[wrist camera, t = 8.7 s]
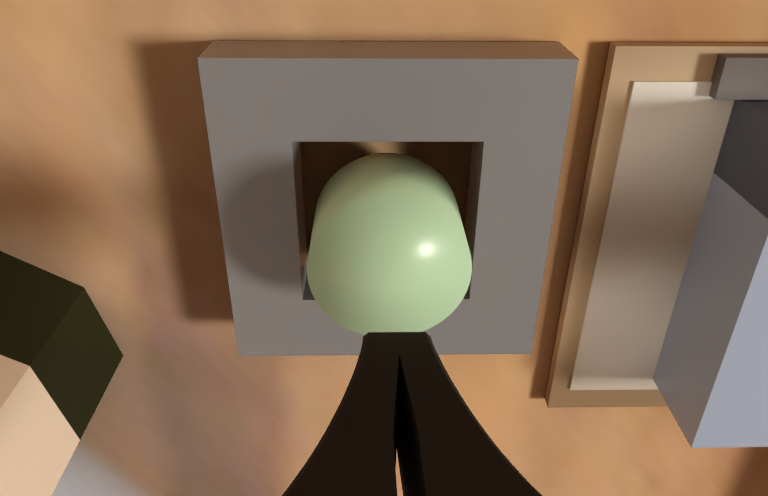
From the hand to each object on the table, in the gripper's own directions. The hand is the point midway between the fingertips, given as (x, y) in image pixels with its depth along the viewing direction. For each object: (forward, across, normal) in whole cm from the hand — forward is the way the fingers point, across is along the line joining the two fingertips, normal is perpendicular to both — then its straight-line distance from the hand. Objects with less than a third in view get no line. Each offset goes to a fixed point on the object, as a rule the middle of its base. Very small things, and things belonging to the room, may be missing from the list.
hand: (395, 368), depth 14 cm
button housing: (+8, 0, 0) cm, 8 cm away
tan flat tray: (+8, -12, +2) cm, 15 cm away
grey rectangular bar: (+8, -12, +2) cm, 14 cm away
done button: (+7, 0, 0) cm, 7 cm away
